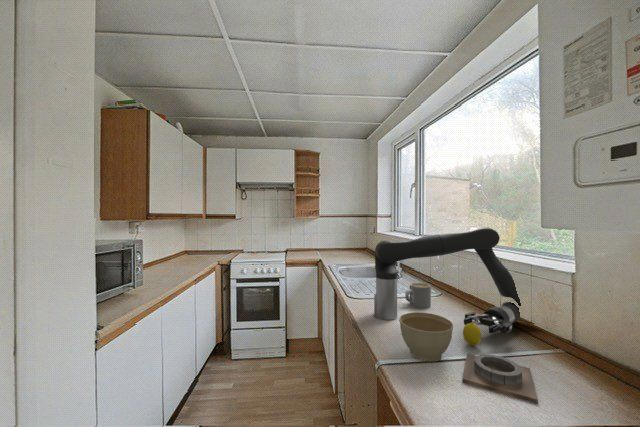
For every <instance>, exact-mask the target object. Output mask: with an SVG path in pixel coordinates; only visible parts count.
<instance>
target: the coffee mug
mask: <svg viewBox="0 0 640 427" xmlns="http://www.w3.org/2000/svg"><path fill="white" fill-rule="evenodd" d="M431 291H432V287H431V284H428V283H423V282H410V284H409V289H407V290H406V291H405V295H404V296H405V300H406V301H407V302H408V303H409V306H411V307H413V308H417V309H429V308H431V307H432V300H431V299H432V298H431V297H432V292H431Z"/></svg>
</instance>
